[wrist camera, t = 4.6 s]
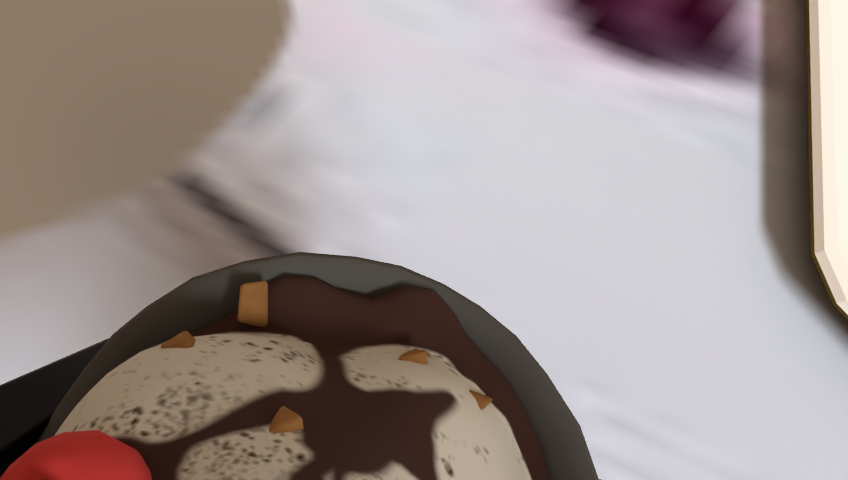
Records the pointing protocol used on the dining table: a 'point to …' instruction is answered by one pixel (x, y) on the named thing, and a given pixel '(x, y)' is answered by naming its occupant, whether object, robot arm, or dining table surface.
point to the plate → (828, 143)
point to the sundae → (311, 386)
